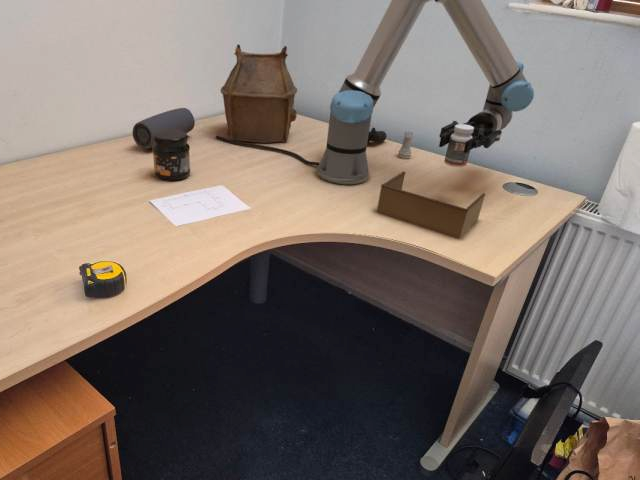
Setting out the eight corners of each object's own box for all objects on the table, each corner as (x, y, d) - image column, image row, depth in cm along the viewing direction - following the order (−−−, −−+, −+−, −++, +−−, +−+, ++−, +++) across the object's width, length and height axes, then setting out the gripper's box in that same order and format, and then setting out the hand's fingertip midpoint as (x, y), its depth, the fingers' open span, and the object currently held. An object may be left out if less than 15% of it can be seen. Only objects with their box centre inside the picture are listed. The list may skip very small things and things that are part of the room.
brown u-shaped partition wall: (398, 196, 145) (403, 171, 141) (477, 220, 134) (485, 193, 130) (376, 211, 136) (381, 184, 132) (459, 238, 125) (467, 210, 121)
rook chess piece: (396, 157, 172) (400, 133, 168) (398, 153, 176) (403, 130, 171) (409, 159, 171) (414, 135, 167) (411, 155, 174) (416, 132, 170)
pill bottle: (467, 168, 135) (477, 130, 130) (444, 166, 136) (454, 128, 130) (464, 161, 140) (474, 124, 134) (442, 159, 141) (451, 122, 135)
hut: (296, 146, 178) (304, 52, 161) (218, 143, 178) (217, 48, 161) (293, 127, 197) (300, 40, 180) (222, 124, 196) (222, 37, 180)
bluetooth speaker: (175, 132, 186) (173, 103, 181) (196, 137, 182) (195, 108, 177) (132, 149, 170) (129, 118, 164) (154, 155, 166) (152, 123, 160)
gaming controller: (339, 142, 192) (334, 134, 182) (342, 126, 191) (338, 118, 182) (384, 149, 187) (381, 141, 177) (388, 133, 186) (386, 125, 177)
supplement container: (147, 174, 152) (143, 133, 145) (174, 166, 158) (172, 126, 152) (169, 184, 146) (167, 142, 139) (198, 175, 152) (196, 135, 146)
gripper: (513, 146, 144) (486, 168, 128) (448, 131, 153) (415, 150, 138) (522, 118, 139) (495, 137, 124) (454, 105, 149) (421, 122, 133)
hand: (453, 144), depth 131 cm, fingers closed on pill bottle, 6 cm apart
